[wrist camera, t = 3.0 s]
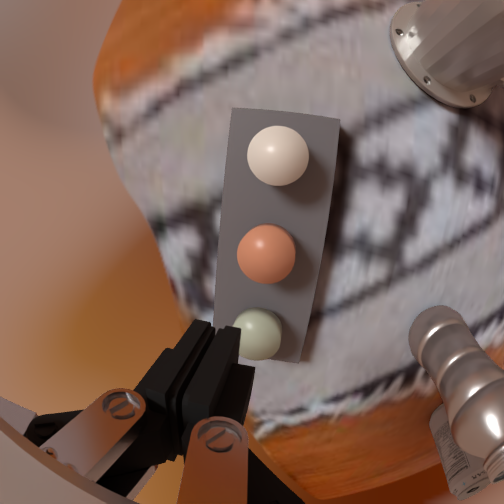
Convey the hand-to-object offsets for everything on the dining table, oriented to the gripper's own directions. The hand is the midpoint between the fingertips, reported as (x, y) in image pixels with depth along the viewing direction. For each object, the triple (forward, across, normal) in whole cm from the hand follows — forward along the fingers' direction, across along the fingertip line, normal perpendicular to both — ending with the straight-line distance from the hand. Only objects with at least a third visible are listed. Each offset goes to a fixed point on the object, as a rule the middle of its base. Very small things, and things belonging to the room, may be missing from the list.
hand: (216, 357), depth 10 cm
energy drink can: (+18, -29, +20) cm, 39 cm away
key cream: (+15, 0, -8) cm, 17 cm away
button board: (+17, 0, -1) cm, 17 cm away
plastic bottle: (+18, -19, +6) cm, 26 cm away
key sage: (+15, 0, +7) cm, 17 cm away
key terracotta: (+15, 0, -1) cm, 15 cm away
